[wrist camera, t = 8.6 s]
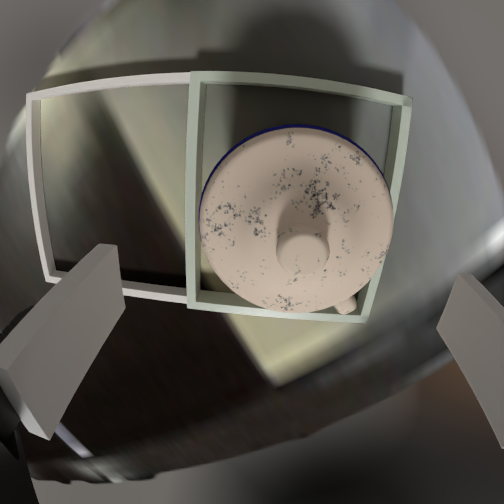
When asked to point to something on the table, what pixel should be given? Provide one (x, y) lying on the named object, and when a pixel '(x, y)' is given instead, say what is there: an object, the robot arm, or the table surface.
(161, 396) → the table surface
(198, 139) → the divided tray
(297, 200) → the teacup with lid
